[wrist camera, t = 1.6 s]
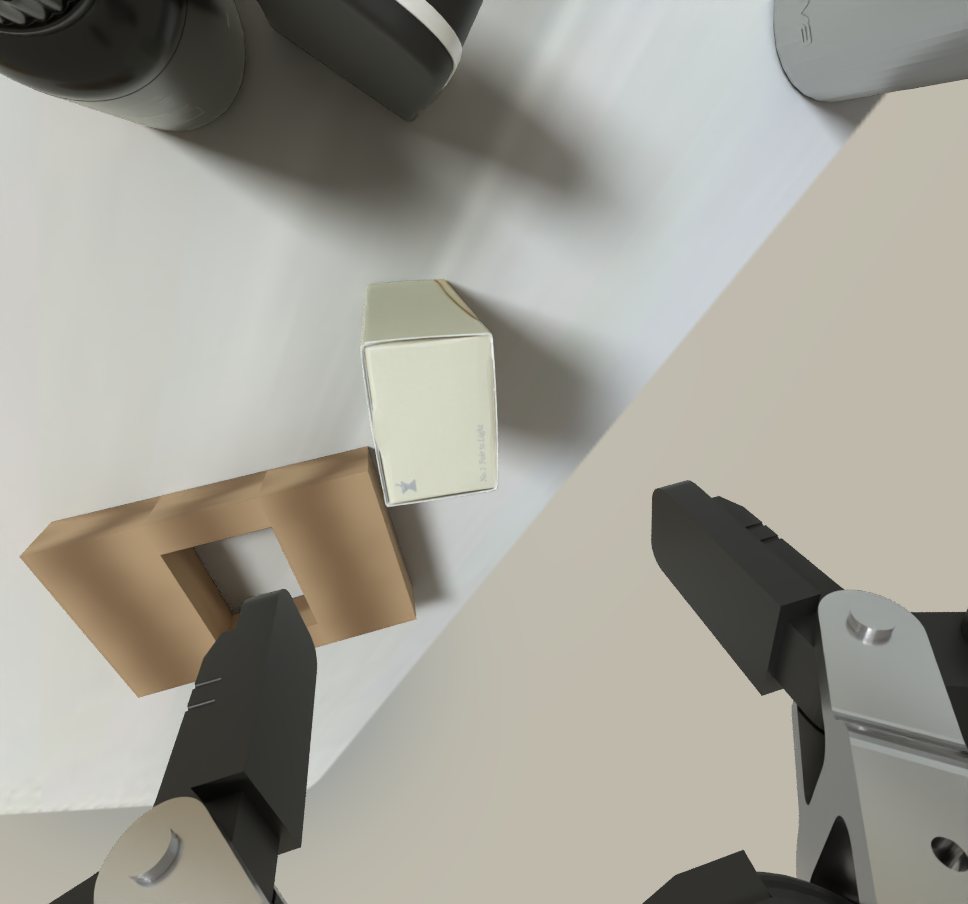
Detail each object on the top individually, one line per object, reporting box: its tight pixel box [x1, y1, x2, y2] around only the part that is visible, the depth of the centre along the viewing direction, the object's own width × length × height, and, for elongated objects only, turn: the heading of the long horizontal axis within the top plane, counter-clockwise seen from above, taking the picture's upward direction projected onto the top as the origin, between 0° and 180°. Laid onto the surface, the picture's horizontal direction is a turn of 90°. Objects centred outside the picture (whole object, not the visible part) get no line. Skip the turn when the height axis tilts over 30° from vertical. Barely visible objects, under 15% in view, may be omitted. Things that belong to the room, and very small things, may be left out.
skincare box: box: [360, 279, 499, 507], centre depth 22 cm, size 6×4×12 cm
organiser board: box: [20, 446, 416, 698], centre depth 30 cm, size 18×12×3 cm, turn 99°
